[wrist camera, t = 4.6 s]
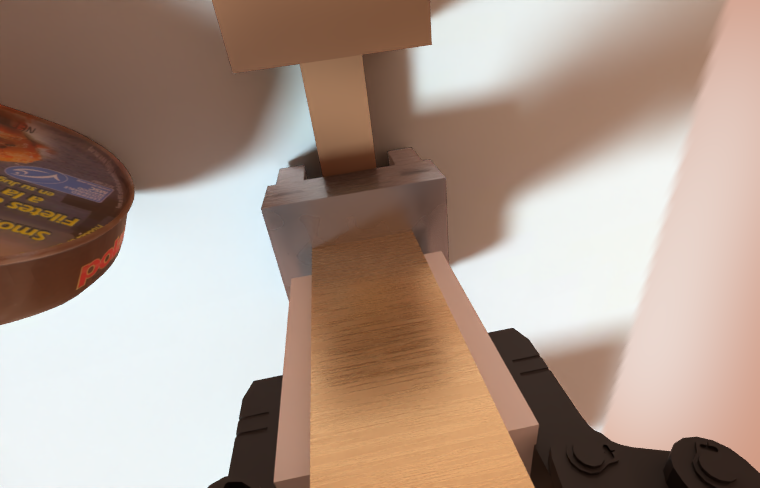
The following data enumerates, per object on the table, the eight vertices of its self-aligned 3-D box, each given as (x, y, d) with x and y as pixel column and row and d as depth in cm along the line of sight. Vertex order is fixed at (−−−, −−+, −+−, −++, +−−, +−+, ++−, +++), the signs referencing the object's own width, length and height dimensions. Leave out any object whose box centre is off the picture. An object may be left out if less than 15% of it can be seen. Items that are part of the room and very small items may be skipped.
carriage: (272, 170, 16) (170, 524, 5) (418, 146, 16) (653, 418, 5) (308, 306, 19) (302, 692, 8) (428, 283, 19) (577, 621, 8)
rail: (241, -9, 13) (204, -25, 9) (390, -28, 13) (427, -54, 9) (350, 425, 24) (358, 511, 20) (428, 409, 25) (452, 490, 20)
